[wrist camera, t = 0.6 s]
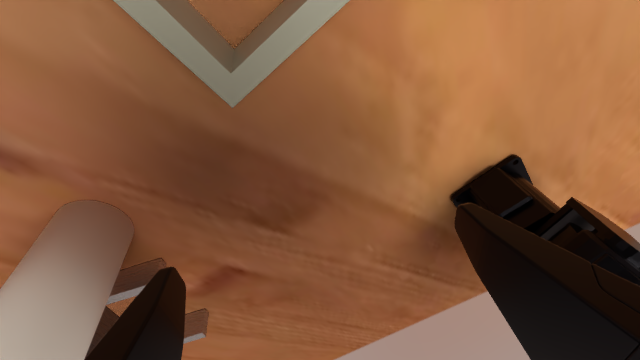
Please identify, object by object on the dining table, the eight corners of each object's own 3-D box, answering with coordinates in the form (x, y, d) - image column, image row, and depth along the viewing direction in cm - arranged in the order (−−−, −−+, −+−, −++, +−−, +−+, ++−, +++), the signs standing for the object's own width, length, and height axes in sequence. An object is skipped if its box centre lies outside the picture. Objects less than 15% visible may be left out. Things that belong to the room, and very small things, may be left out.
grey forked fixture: (154, 250, 26) (130, 329, 21) (214, 319, 33) (207, 391, 28) (-13, 301, 26) (-80, 393, 21) (81, 359, 33) (49, 440, 28)
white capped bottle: (148, 225, 25) (81, 414, 15) (108, 260, 26) (21, 456, 16) (79, 187, 22) (-63, 391, 12) (38, 229, 23) (-121, 444, 13)
